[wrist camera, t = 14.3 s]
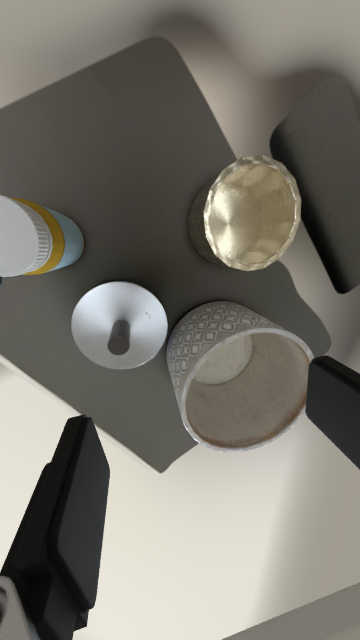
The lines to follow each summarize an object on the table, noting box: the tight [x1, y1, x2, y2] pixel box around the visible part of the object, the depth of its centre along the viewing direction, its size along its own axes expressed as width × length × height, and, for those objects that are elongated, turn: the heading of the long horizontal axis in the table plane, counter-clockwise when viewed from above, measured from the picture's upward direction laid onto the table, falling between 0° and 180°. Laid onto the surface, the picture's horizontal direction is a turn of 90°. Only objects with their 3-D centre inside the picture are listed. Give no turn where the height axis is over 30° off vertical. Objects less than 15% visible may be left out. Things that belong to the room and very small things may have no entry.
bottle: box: [0, 195, 84, 277], centre depth 24 cm, size 7×7×15 cm
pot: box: [188, 155, 301, 271], centre depth 30 cm, size 13×13×8 cm
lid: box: [71, 281, 168, 369], centre depth 30 cm, size 14×14×7 cm
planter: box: [166, 301, 314, 452], centre depth 34 cm, size 19×19×14 cm
